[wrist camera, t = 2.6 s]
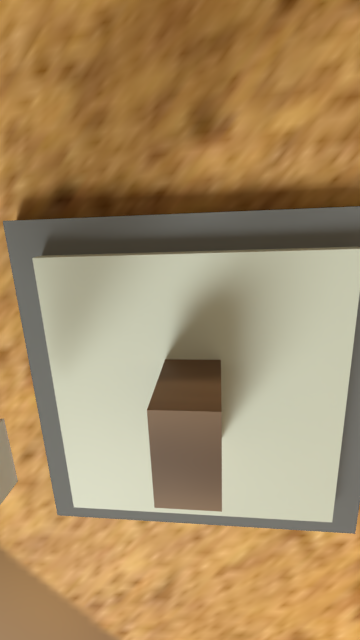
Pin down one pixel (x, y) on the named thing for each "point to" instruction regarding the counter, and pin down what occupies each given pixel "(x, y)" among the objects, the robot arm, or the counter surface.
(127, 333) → the lid
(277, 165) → the counter surface
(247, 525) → the mat
